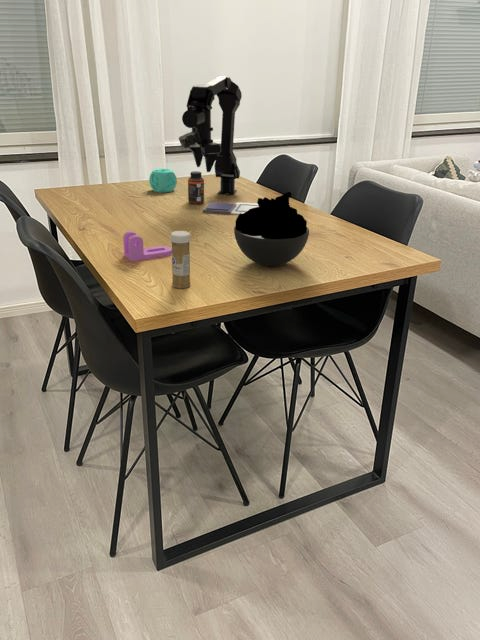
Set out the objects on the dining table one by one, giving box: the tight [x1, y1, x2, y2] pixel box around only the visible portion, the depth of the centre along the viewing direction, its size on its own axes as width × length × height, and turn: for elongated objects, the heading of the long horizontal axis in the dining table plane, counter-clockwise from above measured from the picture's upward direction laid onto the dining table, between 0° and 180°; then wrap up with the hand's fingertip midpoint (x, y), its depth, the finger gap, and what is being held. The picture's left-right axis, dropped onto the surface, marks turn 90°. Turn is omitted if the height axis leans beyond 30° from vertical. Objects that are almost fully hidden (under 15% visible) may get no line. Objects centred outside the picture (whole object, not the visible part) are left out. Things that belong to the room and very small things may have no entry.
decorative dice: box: [148, 168, 178, 193], centre depth 235 cm, size 8×8×8 cm
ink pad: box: [202, 201, 237, 215], centre depth 210 cm, size 11×10×1 cm
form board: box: [230, 201, 259, 216], centre depth 211 cm, size 16×14×1 cm
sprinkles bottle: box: [170, 230, 191, 289], centre depth 140 cm, size 5×5×13 cm
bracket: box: [122, 230, 172, 262], centre depth 162 cm, size 13×6×7 cm, turn 119°
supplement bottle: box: [187, 170, 205, 205], centre depth 217 cm, size 6×6×11 cm
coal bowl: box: [233, 191, 310, 267], centre depth 155 cm, size 20×20×19 cm
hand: (203, 169), depth 209 cm, fingers open, 9 cm apart
